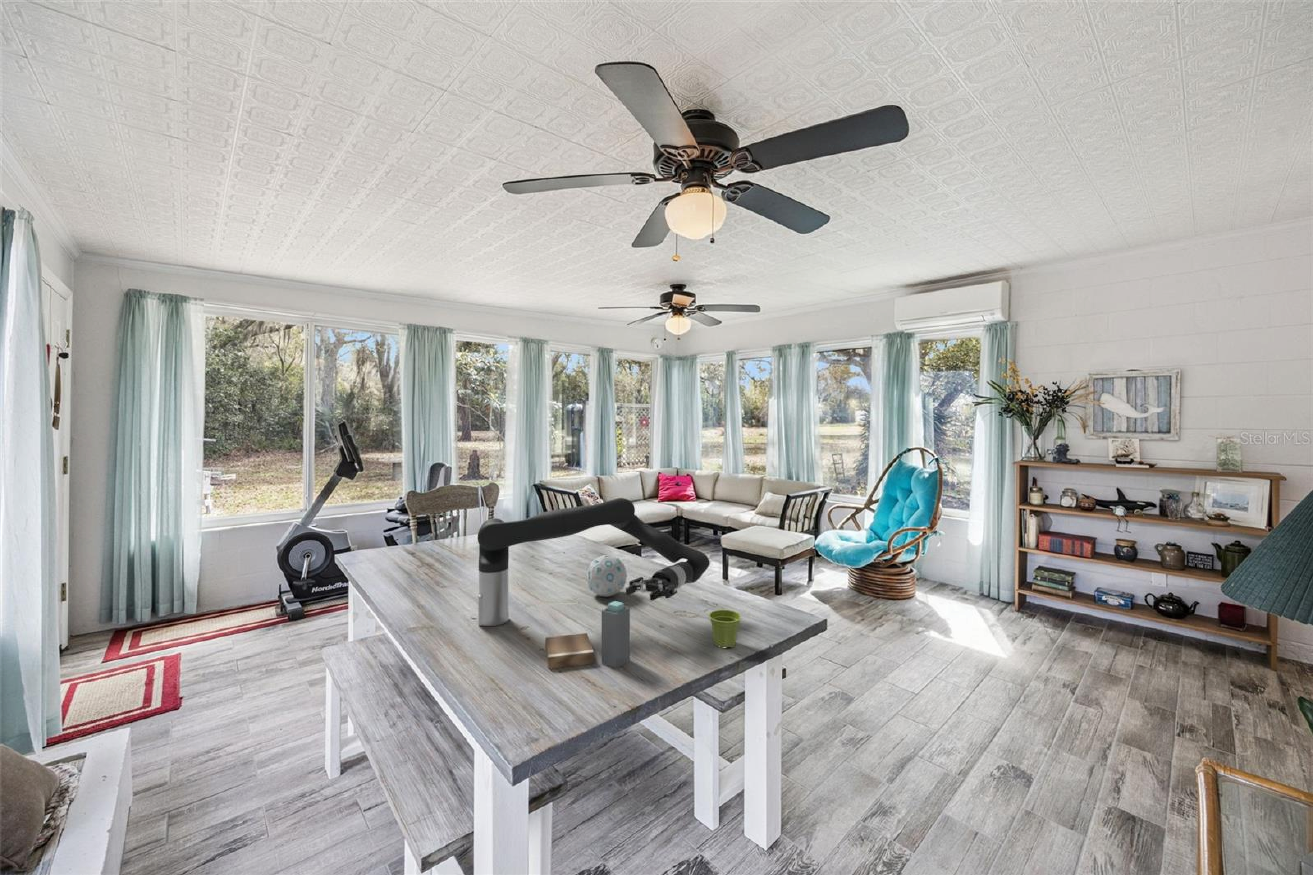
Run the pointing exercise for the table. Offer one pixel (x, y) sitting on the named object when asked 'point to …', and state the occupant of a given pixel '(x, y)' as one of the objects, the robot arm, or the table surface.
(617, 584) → the puzzle ball
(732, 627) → the plant pot
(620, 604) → the block
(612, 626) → the carrier
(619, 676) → the table surface
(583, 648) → the block
